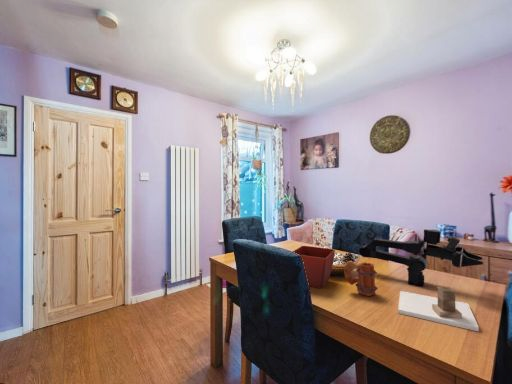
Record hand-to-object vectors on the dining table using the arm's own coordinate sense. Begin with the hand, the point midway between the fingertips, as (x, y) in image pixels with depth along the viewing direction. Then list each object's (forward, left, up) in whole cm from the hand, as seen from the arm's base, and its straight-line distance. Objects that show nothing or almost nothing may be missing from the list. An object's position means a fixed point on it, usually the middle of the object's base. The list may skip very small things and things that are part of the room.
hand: (482, 260), depth 107 cm
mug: (-47, -22, -17) cm, 55 cm away
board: (-19, -24, -17) cm, 35 cm away
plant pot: (-71, -21, -17) cm, 76 cm away
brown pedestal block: (-15, -29, -15) cm, 36 cm away
